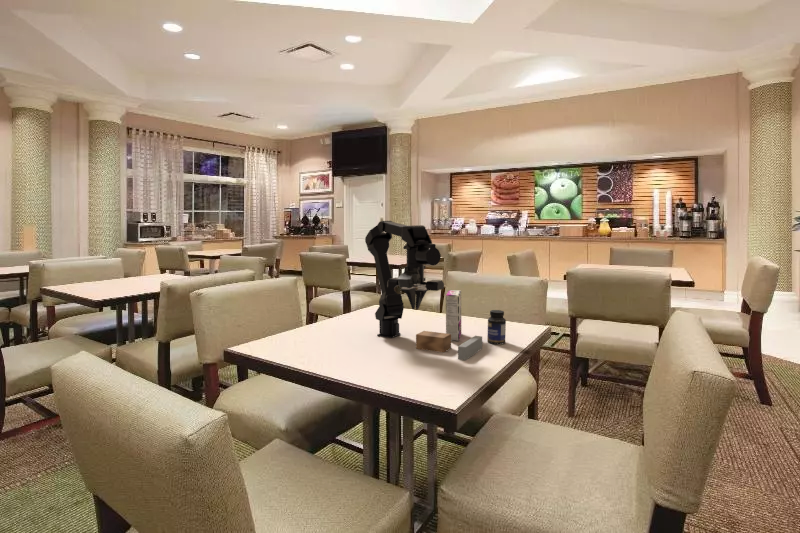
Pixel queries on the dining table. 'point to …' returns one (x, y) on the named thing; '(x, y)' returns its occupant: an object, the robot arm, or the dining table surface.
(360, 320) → the dining table surface
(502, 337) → the pill bottle
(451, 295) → the candy bar box
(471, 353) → the fence board
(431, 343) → the walnut brick
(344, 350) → the dining table surface
